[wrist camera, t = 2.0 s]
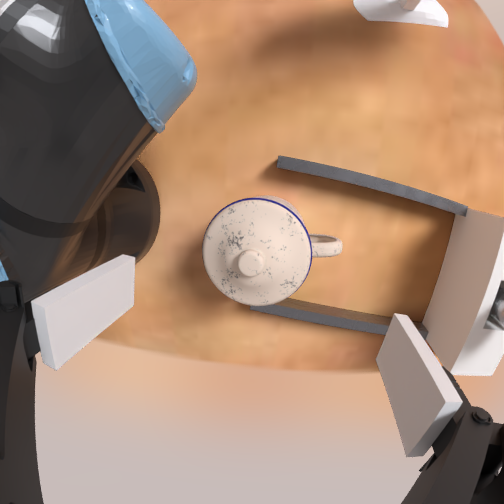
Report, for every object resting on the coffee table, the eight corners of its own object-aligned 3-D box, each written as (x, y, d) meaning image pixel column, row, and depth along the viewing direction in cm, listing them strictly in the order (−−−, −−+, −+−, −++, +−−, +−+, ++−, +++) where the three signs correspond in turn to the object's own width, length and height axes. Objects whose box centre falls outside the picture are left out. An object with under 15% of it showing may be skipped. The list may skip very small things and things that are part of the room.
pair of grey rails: (253, 300, 34) (249, 309, 32) (280, 157, 30) (278, 155, 28) (418, 330, 32) (425, 340, 30) (457, 204, 28) (467, 206, 26)
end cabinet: (419, 329, 32) (448, 374, 23) (457, 205, 28) (506, 218, 18) (458, 335, 32) (491, 375, 22) (496, 220, 27) (545, 236, 18)
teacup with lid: (227, 273, 34) (195, 318, 23) (223, 193, 32) (185, 202, 21) (333, 275, 32) (349, 323, 21) (335, 192, 30) (357, 201, 19)
